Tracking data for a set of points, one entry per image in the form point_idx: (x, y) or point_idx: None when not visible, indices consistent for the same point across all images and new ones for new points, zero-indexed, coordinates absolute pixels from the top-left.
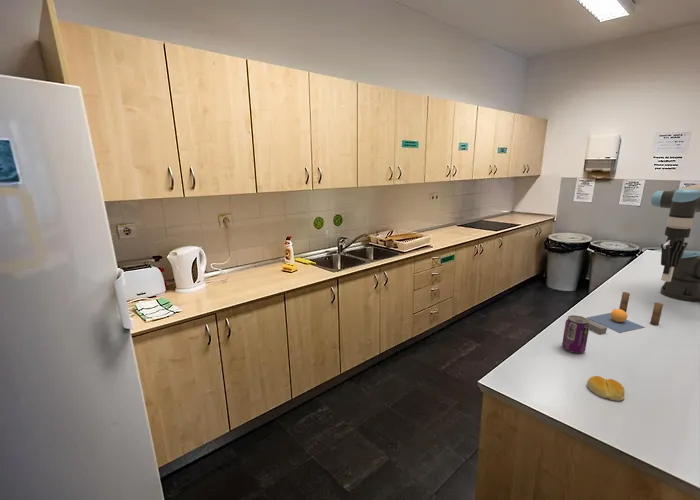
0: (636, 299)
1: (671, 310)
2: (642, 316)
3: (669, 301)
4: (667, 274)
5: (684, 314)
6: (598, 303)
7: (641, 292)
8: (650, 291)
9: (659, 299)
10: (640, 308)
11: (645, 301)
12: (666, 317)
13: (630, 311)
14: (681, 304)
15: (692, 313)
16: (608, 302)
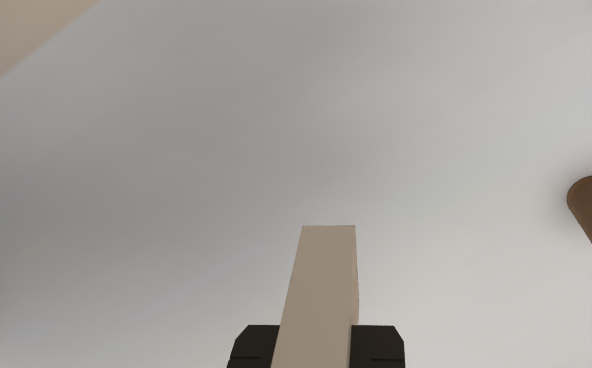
0: (246, 301)
1: (194, 108)
2: (542, 92)
3: (55, 217)
4: (351, 325)
5: (171, 26)
6: (584, 337)
7: (100, 357)
8: (28, 349)
9: (91, 257)
10: (385, 197)
11: (219, 264)
12: (373, 24)
13: (522, 183)
14: (19, 159)
15: (91, 23)
16: (493, 327)
